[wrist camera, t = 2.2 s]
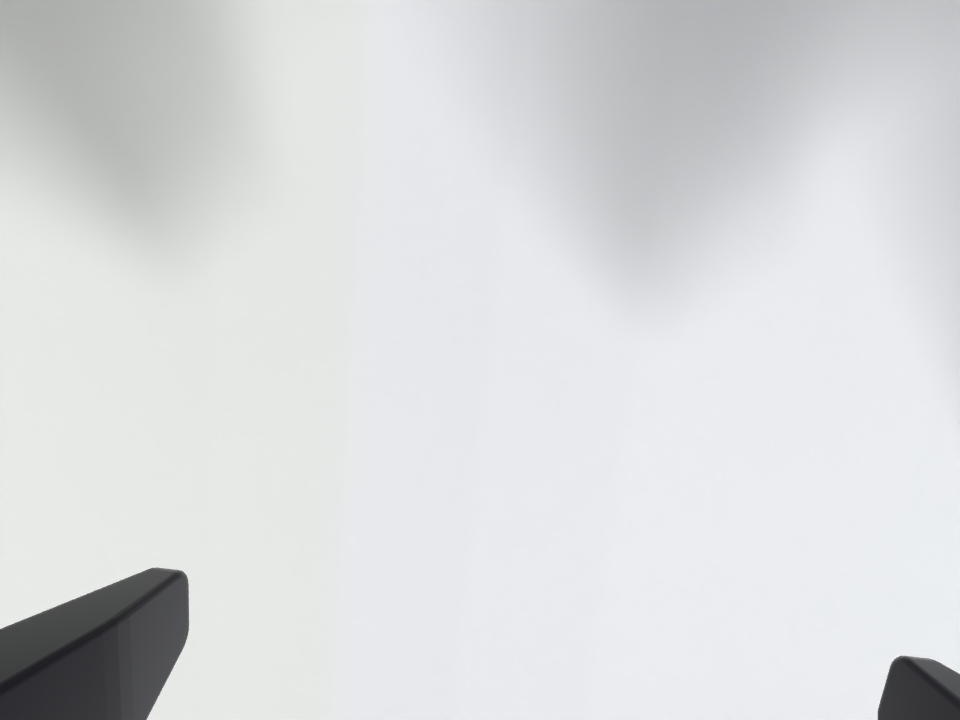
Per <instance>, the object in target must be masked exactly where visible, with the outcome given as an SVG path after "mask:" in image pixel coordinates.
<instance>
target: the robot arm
mask: <svg viewBox="0 0 960 720" xmlns="http://www.w3.org/2000/svg"><path fill="white" fill-rule="evenodd" d="M188 631H189V589H188V578H187V575H186V574H185V573H184V572H183V571H180V570H172V569H164V568H151V569H148V570H146V571H143V572H141V573H138V574H136V575H133V576H131V577H128V578H126V579H123V580H121V581H118V582H116V583H113V584H111V585H108V586H106V587H104V588H101V589H99V590H96V591H94V592H91V593H89V594H86V595H84V596H81V597H79V598H76V599H74V600H71V601H69V602H66V603H64V604H61V605H59V606H56V607H54V608H51V609H49V610H47V611H44V612H42V613H39V614H37V615H34V616H32V617H29V618H27V619H24V620H22V621H19V622H17V623H14V624H12V625H9V626H7V627H4V628H2V629H0V720H146V719H147V718H148V716H149V714H150V712H151V710H152V708H153V706H154V704H155V702H156V700H157V698H158V696H159V694H160V692H161V690H162V688H163V686H164V685H165V683H166V681H167V679H168V677H169V675H170V673H171V671H172V669H173V667H174V665H175V663H176V661H177V659H178V657H179V655H180V653H181V652H182V650H183V648H184V645H185V643H186V640H187V636H188ZM878 720H960V674H959V673H957V672H955V671H953V670H951V669H950V668H948V667H946V666H944V665H943V664H941V663H939V662H937V661H935V660H932V659H927V658H918V657H909V656H900V657H897V658H895V659H894V661H893V662H892V664H891V666H890V669H889V673H888V676H887V680H886V683H885V687H884V690H883V694H882V698H881V701H880V705H879V708H878Z"/></svg>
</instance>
